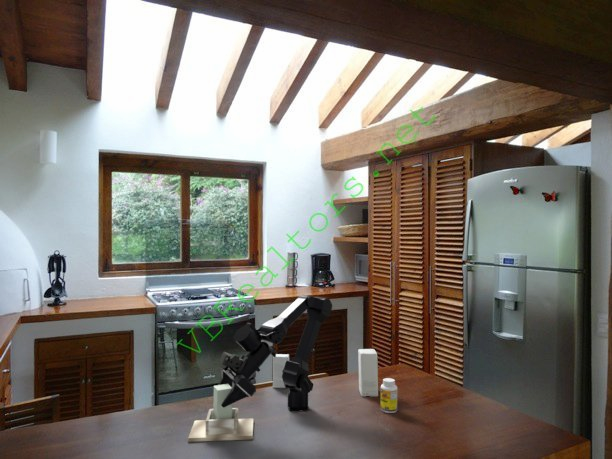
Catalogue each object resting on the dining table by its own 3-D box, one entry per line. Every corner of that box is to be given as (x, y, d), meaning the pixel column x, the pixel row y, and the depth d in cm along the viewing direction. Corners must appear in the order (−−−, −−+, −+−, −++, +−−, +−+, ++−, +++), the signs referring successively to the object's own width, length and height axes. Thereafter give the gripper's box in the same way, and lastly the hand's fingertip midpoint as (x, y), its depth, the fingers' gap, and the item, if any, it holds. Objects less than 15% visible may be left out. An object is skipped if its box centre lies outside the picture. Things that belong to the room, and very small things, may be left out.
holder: (253, 421, 134) (253, 405, 134) (252, 439, 122) (252, 421, 123) (194, 423, 133) (194, 407, 133) (188, 441, 121) (188, 423, 121)
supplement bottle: (377, 408, 145) (377, 378, 146) (391, 406, 148) (391, 376, 148) (386, 414, 140) (386, 383, 141) (400, 412, 142) (400, 381, 143)
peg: (227, 423, 130) (228, 383, 131) (231, 429, 126) (232, 388, 127) (213, 426, 128) (213, 385, 129) (216, 432, 125) (217, 390, 125)
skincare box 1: (289, 384, 169) (289, 354, 169) (287, 388, 165) (288, 357, 165) (274, 384, 170) (274, 353, 170) (272, 387, 165) (272, 356, 166)
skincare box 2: (378, 397, 156) (378, 354, 157) (360, 396, 156) (360, 353, 157) (374, 389, 165) (375, 348, 165) (357, 389, 165) (357, 348, 165)
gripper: (227, 336, 138) (192, 375, 133) (245, 349, 121) (206, 394, 116) (250, 358, 142) (217, 397, 136) (271, 374, 125) (234, 419, 120)
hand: (218, 401), depth 127 cm, fingers open, 9 cm apart
